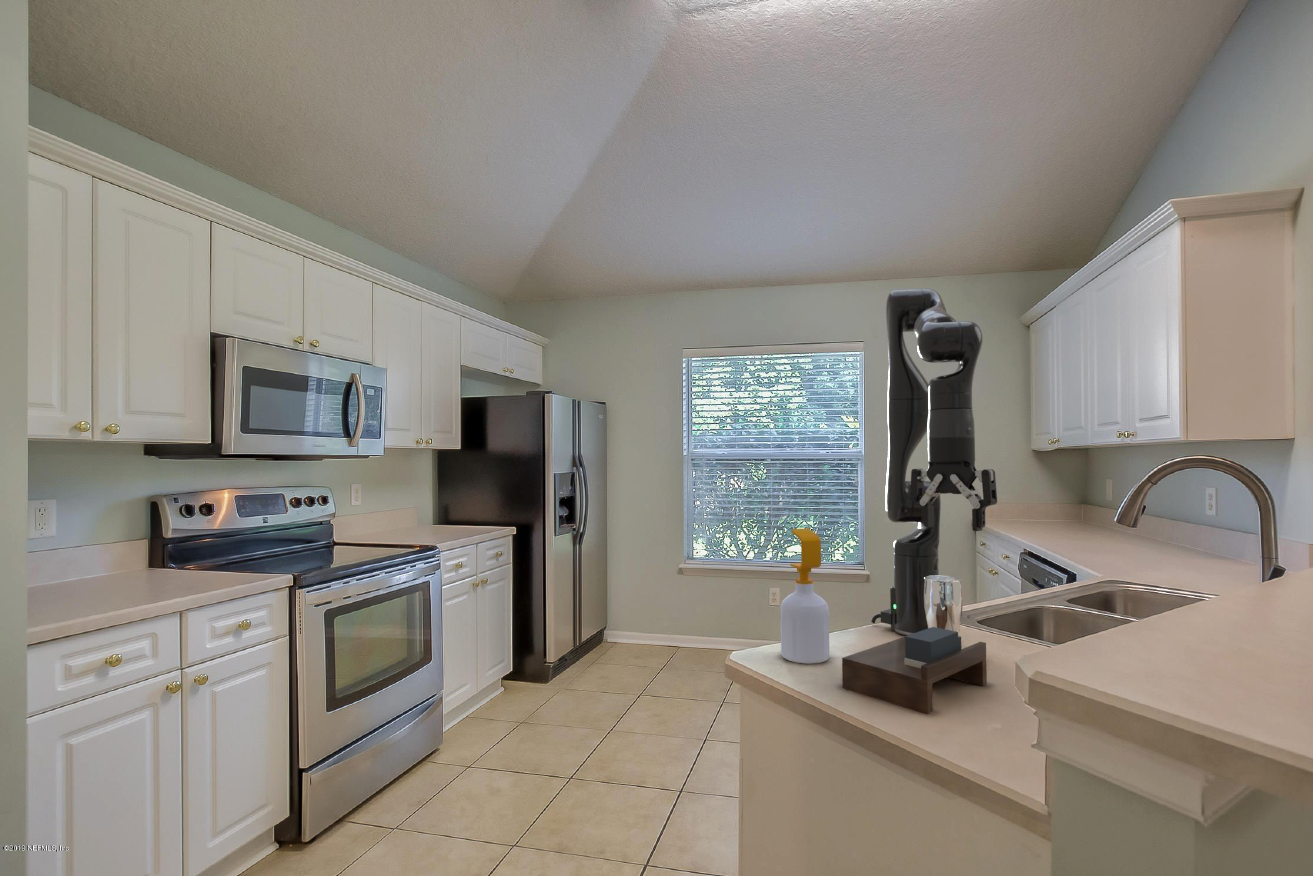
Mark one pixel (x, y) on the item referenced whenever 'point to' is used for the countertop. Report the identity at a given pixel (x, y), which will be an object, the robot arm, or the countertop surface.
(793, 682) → the countertop surface
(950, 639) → the stepped grey pillar
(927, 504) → the robot arm
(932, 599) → the beer glass
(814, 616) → the soap bottle
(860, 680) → the board
